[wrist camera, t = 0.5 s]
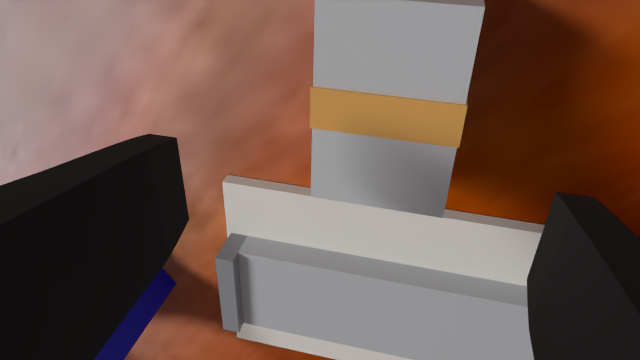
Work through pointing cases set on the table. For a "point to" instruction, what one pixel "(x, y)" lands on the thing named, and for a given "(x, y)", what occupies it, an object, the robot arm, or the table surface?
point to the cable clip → (137, 318)
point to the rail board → (372, 278)
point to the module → (390, 99)
